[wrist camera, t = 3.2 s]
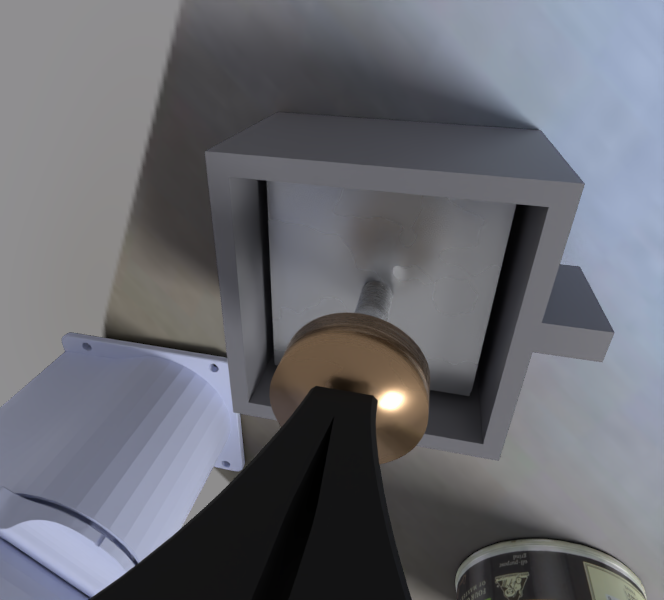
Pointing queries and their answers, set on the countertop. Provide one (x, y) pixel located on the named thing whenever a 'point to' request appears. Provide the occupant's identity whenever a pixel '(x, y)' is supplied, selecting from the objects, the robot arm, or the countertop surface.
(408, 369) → the plunger
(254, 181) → the grey open box
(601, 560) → the coffee can
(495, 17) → the countertop surface
